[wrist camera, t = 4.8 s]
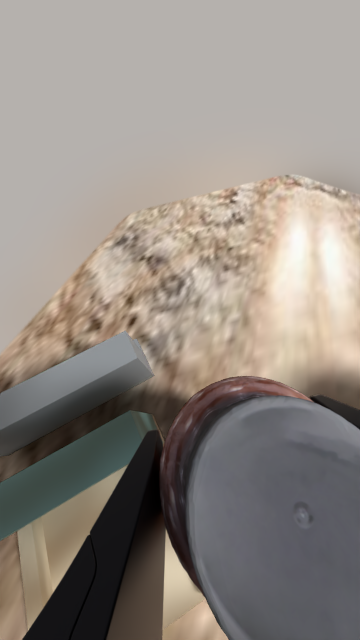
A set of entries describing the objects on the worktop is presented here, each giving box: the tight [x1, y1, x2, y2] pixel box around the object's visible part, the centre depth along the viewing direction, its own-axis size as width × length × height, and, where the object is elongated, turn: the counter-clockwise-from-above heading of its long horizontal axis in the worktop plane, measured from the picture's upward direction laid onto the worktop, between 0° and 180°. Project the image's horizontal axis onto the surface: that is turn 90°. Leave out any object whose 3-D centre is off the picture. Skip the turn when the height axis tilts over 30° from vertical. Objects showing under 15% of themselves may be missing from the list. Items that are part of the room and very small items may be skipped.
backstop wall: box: [0, 331, 154, 457], centre depth 17 cm, size 4×14×6 cm, turn 118°
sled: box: [0, 410, 206, 631], centre depth 12 cm, size 11×11×7 cm
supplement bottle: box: [159, 376, 360, 640], centre depth 9 cm, size 6×6×11 cm
